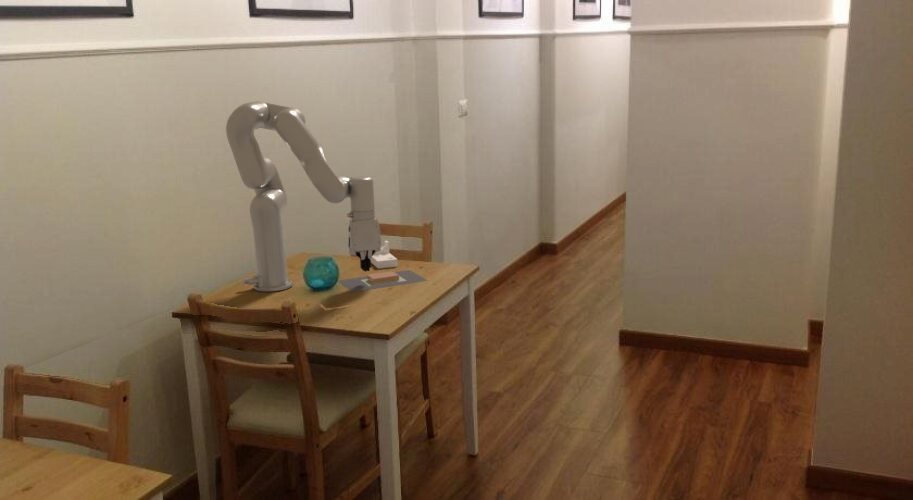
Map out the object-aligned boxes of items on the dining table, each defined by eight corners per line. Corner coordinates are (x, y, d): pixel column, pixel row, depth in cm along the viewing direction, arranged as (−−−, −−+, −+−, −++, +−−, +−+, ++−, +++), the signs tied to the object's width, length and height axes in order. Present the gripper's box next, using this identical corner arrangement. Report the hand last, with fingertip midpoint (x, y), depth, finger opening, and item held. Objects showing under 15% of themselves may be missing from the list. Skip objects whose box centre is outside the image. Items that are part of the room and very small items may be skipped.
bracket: (369, 262, 301) (367, 242, 300) (387, 260, 304) (386, 240, 302) (378, 271, 290) (377, 250, 288) (397, 268, 292) (396, 248, 290)
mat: (352, 294, 262) (352, 292, 262) (337, 282, 276) (337, 280, 276) (427, 282, 272) (427, 280, 272) (409, 271, 286) (409, 269, 286)
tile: (373, 279, 269) (399, 275, 273) (367, 274, 275) (392, 271, 278) (373, 284, 270) (399, 280, 273) (367, 280, 275) (392, 276, 279)
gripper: (344, 219, 260) (347, 276, 264) (388, 214, 266) (391, 269, 271) (337, 215, 267) (340, 270, 271) (380, 211, 273) (383, 265, 277)
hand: (365, 270), depth 271 cm, fingers closed
